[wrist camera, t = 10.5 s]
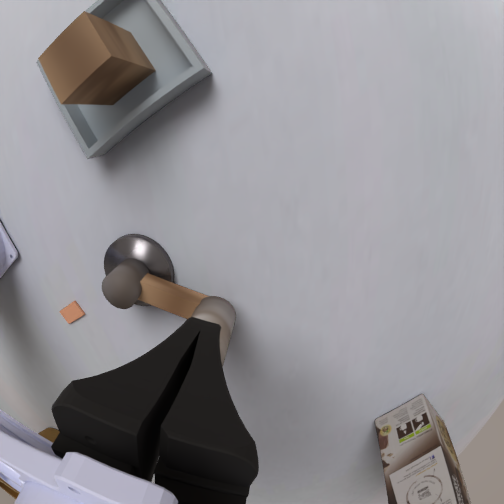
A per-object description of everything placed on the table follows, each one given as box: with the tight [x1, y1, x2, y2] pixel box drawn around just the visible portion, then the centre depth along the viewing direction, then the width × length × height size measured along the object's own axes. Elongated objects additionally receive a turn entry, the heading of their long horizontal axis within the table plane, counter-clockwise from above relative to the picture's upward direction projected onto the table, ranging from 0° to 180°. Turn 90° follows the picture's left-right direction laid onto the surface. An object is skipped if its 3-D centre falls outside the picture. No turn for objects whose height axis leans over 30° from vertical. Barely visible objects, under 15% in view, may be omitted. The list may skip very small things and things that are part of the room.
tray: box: [37, 0, 212, 159], centre depth 17 cm, size 10×10×2 cm
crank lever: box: [102, 258, 236, 366], centre depth 21 cm, size 10×3×6 cm, turn 71°
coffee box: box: [375, 394, 471, 504], centre depth 21 cm, size 9×6×16 cm
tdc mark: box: [60, 301, 85, 324], centre depth 27 cm, size 3×2×1 cm, turn 121°
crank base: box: [104, 234, 174, 306], centre depth 24 cm, size 6×6×1 cm
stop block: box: [38, 11, 156, 105], centre depth 15 cm, size 4×4×6 cm
